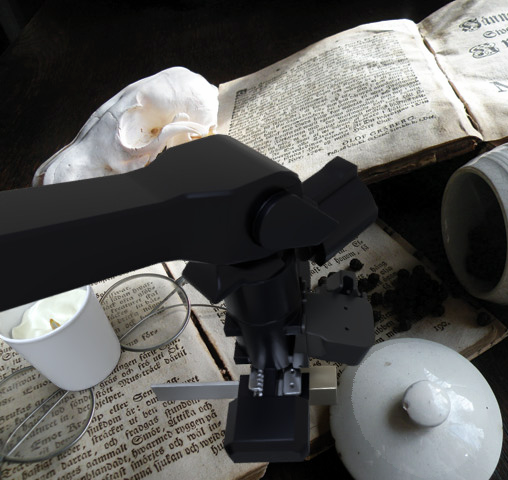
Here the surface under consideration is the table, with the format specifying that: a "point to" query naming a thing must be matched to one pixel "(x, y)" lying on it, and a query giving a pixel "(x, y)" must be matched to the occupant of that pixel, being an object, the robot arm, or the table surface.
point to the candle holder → (64, 338)
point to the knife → (319, 387)
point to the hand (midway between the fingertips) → (284, 390)
